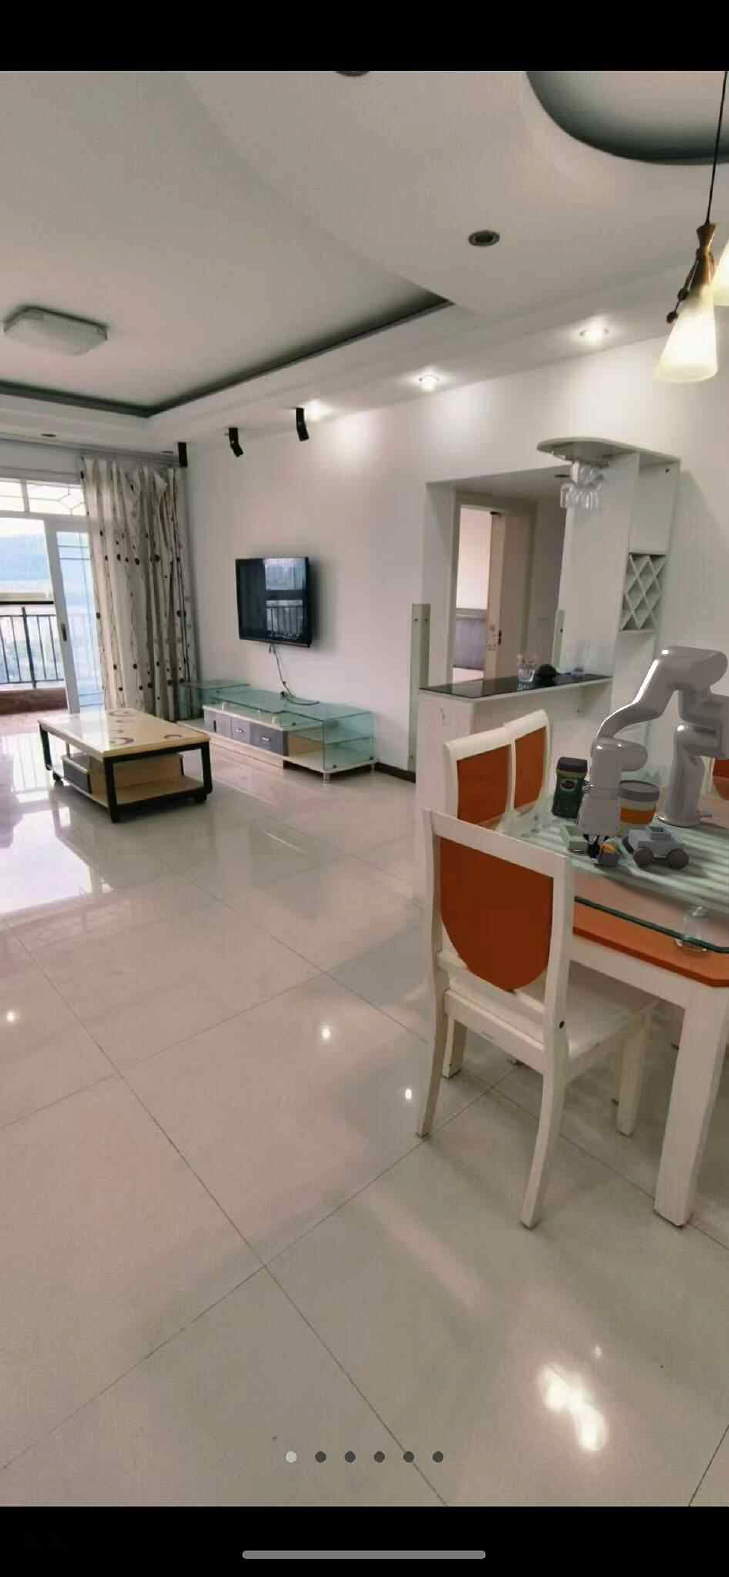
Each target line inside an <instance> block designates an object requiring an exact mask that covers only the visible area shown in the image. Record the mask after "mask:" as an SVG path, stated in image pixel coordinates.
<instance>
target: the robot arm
mask: <svg viewBox="0 0 729 1577" xmlns="http://www.w3.org/2000/svg"><path fill="white" fill-rule="evenodd" d="M728 660H729V659H728V657H727V655H726V654H725V653H724V652H723V651H720V650H715V649H707V648H706V649H705V648H698V647H690V646H681V645H669V646H667V647H664V648H663V649H662V650H661V652H660V655H659V657H656V658H655V659H654V660H653V661H652V662H651V663H650V664H649V667H648V668H647V670H646V672H645V674H644V676H643V678H642V680H641V682H640V684H639V686H638V688H637V690H636V691H635V693H634V695H633V698H632V699H631V701H630V702H629V703H627V704H626V705H624V706H621V707H620V708H619V709H617V710H615V711H614V712H613V713H611V714H610V715H609V716H608V717H607V718H605V719H604V721H603V722H602V723H601V725H600V726H599V728H598V730H597V732H596V734H595V736H594V737H593V739H592V742H591V746H590V751H589V754H590V757H591V766H590V767H591V772H590V771H589V773H590V778H589V783H588V785H587V786H582V791H585V792H587V793H585V794H584V797H583V799H582V802H581V805H580V809H579V813H578V817H576V824H575V825H577V827H576V830H575V834H576V835H578V836H581V837H584V838H585V839H586V840H587V841H588V844H587V850H586V852H585V853H586V855H587V856H588V857H589V859H594V860H597V859H596V858H597V855H599V852H600V846H601V845H602V844H603V842H605V841H606V840H608V839H613V838H614V839H616V838H618V835H617V834H618V832H619V826H620V814H621V800H620V798H619V797H618V791H619V786H620V780H622V773H624V772H627V773H628V772H636V771H640V770H641V769H642V768H643V767H644V766H645V765H646V764H647V762H648V758H649V752H648V750H647V748H646V747H645V746H644V745H642V744H640V743H637V742H634V741H628V740H626V739H621V738H616V737H615V735H617V733H618V732H620V731H621V730H622V729H624V728H627V727H629V726H631V725H635V724H639V723H645V722H649V721H654V720H657V719H659V718H660V717H662V715H663V714H664V712H665V711H666V708H667V706H668V704H669V702H670V700H671V698H672V696H673V694H674V692H675V691H677V709H678V710H677V712H678V717H679V719H680V720H681V721H683V722H681V723H679V724H678V725H677V726H676V727H675V729H674V732H673V737H672V738H673V740H672V742H673V743H672V746H673V748H672V760H671V766H670V772H669V777H668V782H667V788H666V793H665V798H664V802H663V803H664V804H663V809H662V810H658V811H657V812H656V818H657V819H658V820H659V821H661V822H662V823H665V824H668V825H672V826H676V827H683V828H684V827H685V828H693V827H698V826H699V825H700V824H701V819H703V818H705V819H706V818H709V819H712V818H713V816H714V815H713V811H706V810H705V809H699V808H698V806H699V801H700V796H701V793H702V787H703V782H704V777H705V773H706V767H705V762H704V760H703V758H702V757H706V758H710V759H715V760H719V761H721V760H722V761H725V760H729V696H728V695H725V694H723V695H722V694H718V693H713V692H712V690H711V687H712V686H713V685H714V684H716V683H718V682H720V680H722V678H723V677H724V676H725V675H726V672H727V669H728V666H729V665H728V663H729V661H728ZM594 835H597V836H596V840H595V841H594Z"/></svg>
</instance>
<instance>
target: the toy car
mask: <svg viewBox="0 0 729 1577" xmlns="http://www.w3.org/2000/svg"><path fill="white" fill-rule="evenodd" d="M621 844H622V846H623V847H624V848H625V850H626V851H627V852H628V851H629V852H632V860H633V861H634V862H635V864H636V865H637V866H639V867H642V868H643V867H648V866H650V865H652V864H653V862H654V860H655V855H666V861H667V862H668V864H669V865H670V866H671V867H672V868H674V869H676V870H680V869H684V868H686V866H688V865H689V862H690V857H689V854H688V853H686V851H685V846H686V845H685V844H686V843H685V842H684V841H683V839H681V838H680V836H679V835H677V834H676V832H675V831H669V830H668V829H667V828H666V827H665V826H661V825H659V826H658V825H649V826H647V825H645V829H644V830H630V831H629V832H628V833H626V834H625V835H624V836H623V837H621Z"/></svg>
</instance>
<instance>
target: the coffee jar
mask: <svg viewBox="0 0 729 1577" xmlns="http://www.w3.org/2000/svg"><path fill="white" fill-rule="evenodd" d="M588 768H589V767H588V760H587V759H583V758H576V757H569V756H560V757H559V758H558V760H557V763H556V766H555V774H556V780H555V781H556V783H555V788H554V793H553V796H552V801H551V806H550V807H551V808H550V812H551V813H552V814H554V815H556V816H560V817H566V818H576V819H577V817H578V813H579V809H580V805H581V802H582V799H583V791H582V786H583V785H584V779H585V778H587V775H588Z"/></svg>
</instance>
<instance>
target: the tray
mask: <svg viewBox="0 0 729 1577" xmlns="http://www.w3.org/2000/svg"><path fill="white" fill-rule="evenodd" d="M559 824H560V825H559V829H558V831H559V832H558V834H559V836H560V838H561V840H562V842H563V844H564V845H566V846H565V848H566V847H567V848H566V850H567V849H568V850H581V851H586V850H587V844H588V841H585V840H582V837H581V836H578V835H576V834H575V830H576V827H577V825H576V824H568V823H559ZM596 836H597V835H594V841H595V840H596ZM603 843H605V844H610V845H612V847H613V848H614V849H616V850H618V849H617V847H618V843H617V840H615V838H613V839H608V840H606V841H605V842H603ZM568 850H567V851H568Z"/></svg>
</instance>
